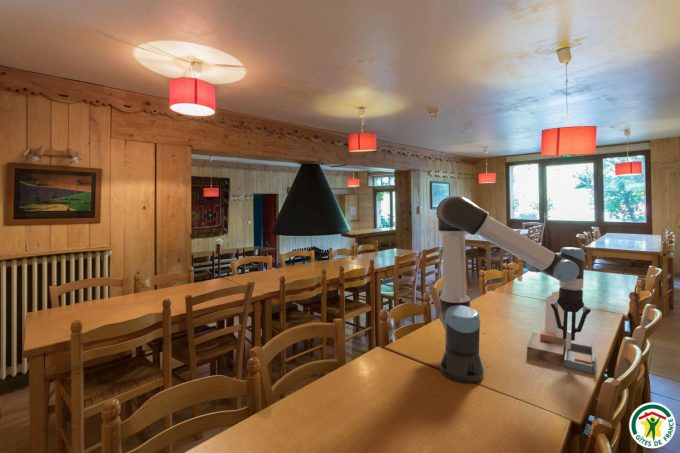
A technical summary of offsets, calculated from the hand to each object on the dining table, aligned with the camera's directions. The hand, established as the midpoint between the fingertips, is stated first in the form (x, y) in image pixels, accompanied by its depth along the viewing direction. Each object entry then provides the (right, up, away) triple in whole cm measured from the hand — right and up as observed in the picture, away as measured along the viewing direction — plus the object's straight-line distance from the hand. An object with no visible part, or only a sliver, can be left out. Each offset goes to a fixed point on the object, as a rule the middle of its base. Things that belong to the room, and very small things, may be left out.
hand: (568, 347), depth 130 cm
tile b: (-1, -1, +12) cm, 12 cm away
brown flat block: (-3, -5, +8) cm, 11 cm away
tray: (+6, -6, +2) cm, 8 cm away
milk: (+9, -4, +23) cm, 25 cm away
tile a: (+4, -3, -2) cm, 5 cm away
